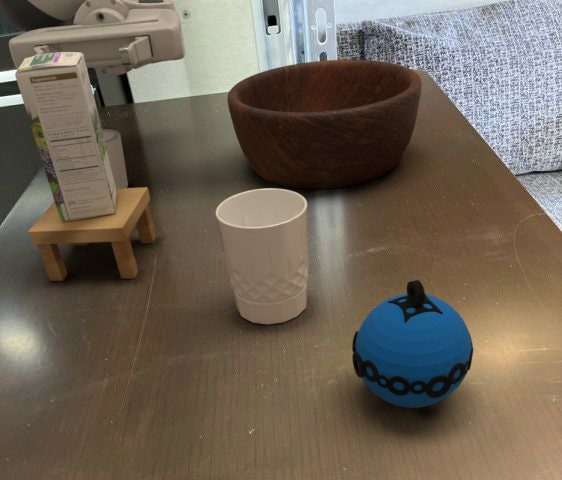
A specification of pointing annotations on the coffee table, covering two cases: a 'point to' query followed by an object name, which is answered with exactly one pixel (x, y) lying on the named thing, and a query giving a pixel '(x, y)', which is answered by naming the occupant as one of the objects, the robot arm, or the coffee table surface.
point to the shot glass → (116, 157)
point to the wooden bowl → (325, 121)
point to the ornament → (412, 349)
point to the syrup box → (68, 134)
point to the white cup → (266, 252)
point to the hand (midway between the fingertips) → (84, 60)
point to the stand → (96, 232)
